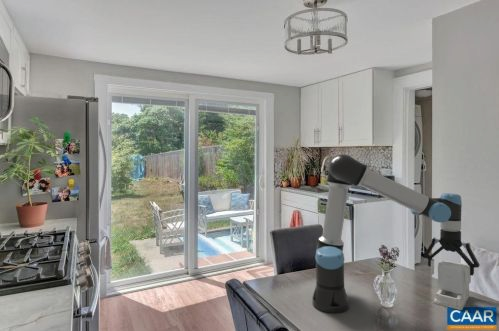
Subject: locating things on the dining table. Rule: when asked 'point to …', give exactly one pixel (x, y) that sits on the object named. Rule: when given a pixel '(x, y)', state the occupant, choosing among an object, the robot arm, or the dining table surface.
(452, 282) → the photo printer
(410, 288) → the dining table surface
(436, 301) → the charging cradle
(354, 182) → the robot arm
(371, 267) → the dining table surface
